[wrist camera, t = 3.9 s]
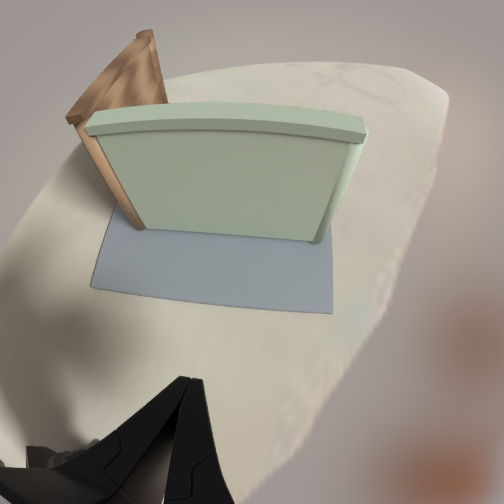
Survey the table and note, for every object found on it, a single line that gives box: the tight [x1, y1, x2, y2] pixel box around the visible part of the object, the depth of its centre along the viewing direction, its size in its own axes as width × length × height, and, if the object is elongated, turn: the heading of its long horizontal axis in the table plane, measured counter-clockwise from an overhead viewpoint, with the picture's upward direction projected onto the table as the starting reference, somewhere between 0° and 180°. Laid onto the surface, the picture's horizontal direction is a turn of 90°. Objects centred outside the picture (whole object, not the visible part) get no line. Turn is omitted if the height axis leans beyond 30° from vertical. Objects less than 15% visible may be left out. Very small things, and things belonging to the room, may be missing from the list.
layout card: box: [91, 202, 333, 314], centre depth 29 cm, size 23×22×1 cm
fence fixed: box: [65, 29, 168, 213], centre depth 24 cm, size 16×2×14 cm, turn 175°
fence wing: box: [77, 102, 369, 244], centre depth 20 cm, size 2×18×14 cm, turn 85°
